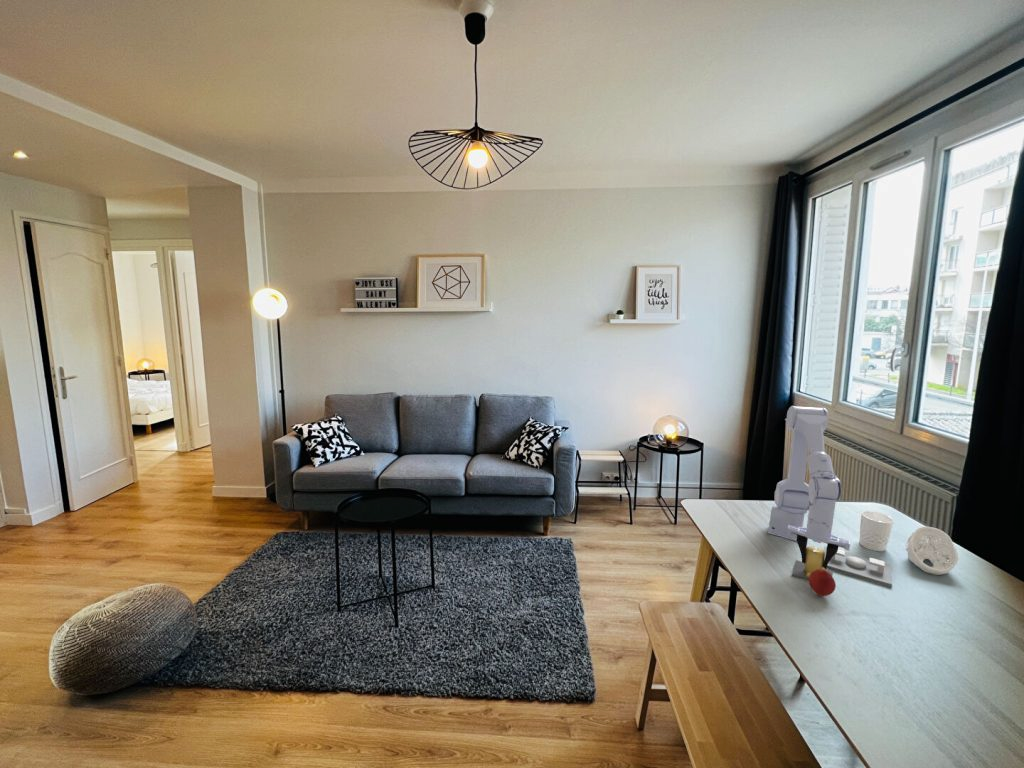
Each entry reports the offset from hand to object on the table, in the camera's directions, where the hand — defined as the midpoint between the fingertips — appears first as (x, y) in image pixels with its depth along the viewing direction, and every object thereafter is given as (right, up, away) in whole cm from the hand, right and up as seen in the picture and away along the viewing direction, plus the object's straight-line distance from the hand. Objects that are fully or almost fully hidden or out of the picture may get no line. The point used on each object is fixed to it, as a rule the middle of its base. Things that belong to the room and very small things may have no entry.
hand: (813, 564), depth 130 cm
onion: (-4, -5, -9) cm, 11 cm away
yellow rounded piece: (0, -2, +1) cm, 2 cm away
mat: (0, -3, +1) cm, 3 cm away
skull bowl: (+37, -3, +6) cm, 37 cm away
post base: (+15, -2, +4) cm, 16 cm away
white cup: (+29, -1, +16) cm, 33 cm away
